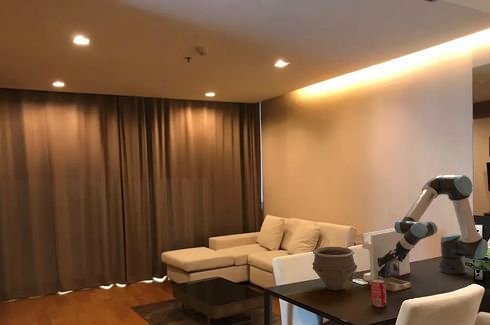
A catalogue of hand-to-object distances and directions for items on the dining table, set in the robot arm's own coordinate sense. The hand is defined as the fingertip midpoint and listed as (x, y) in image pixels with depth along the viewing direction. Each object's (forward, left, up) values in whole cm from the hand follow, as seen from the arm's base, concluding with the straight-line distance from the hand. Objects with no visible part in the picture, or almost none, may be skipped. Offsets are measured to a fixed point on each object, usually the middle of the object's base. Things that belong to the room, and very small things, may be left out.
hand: (384, 267), depth 234 cm
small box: (0, +3, -5) cm, 5 cm away
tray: (0, +3, -10) cm, 10 cm away
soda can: (+30, +23, -10) cm, 39 cm away
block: (-16, -12, -10) cm, 22 cm away
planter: (+28, -11, -10) cm, 32 cm away
